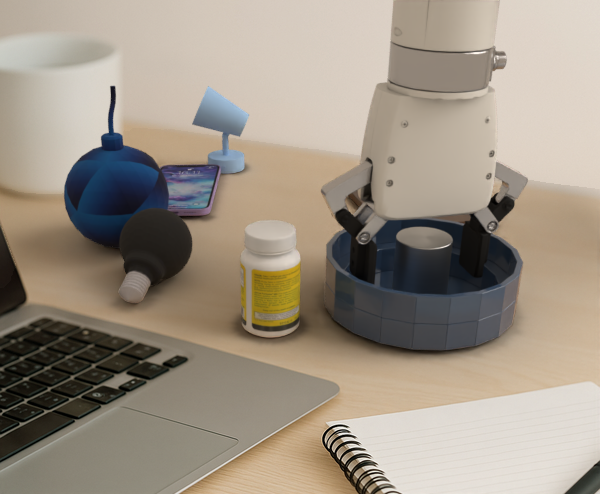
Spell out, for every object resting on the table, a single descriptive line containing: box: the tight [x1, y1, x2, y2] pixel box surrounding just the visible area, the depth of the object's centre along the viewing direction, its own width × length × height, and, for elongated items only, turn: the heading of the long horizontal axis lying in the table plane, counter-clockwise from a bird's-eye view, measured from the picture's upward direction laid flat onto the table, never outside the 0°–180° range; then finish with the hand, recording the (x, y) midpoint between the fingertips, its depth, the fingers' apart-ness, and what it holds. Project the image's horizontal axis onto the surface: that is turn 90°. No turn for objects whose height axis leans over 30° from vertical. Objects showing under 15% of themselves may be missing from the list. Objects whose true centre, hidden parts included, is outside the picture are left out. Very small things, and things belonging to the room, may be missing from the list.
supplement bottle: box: [239, 219, 302, 338], centre depth 65 cm, size 5×5×8 cm
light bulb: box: [118, 208, 193, 304], centre depth 72 cm, size 6×6×10 cm
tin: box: [392, 227, 453, 295], centre depth 69 cm, size 5×5×6 cm
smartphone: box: [159, 163, 222, 217], centre depth 94 cm, size 7×1×15 cm
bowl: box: [324, 218, 524, 351], centre depth 70 cm, size 16×16×5 cm
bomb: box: [63, 85, 169, 249], centre depth 78 cm, size 10×11×15 cm
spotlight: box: [191, 85, 250, 175], centre depth 100 cm, size 5×10×7 cm
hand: (417, 276), depth 69 cm, fingers open, 9 cm apart
